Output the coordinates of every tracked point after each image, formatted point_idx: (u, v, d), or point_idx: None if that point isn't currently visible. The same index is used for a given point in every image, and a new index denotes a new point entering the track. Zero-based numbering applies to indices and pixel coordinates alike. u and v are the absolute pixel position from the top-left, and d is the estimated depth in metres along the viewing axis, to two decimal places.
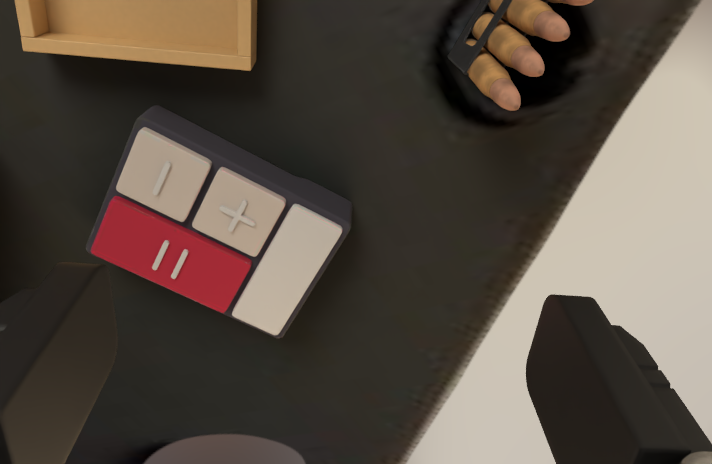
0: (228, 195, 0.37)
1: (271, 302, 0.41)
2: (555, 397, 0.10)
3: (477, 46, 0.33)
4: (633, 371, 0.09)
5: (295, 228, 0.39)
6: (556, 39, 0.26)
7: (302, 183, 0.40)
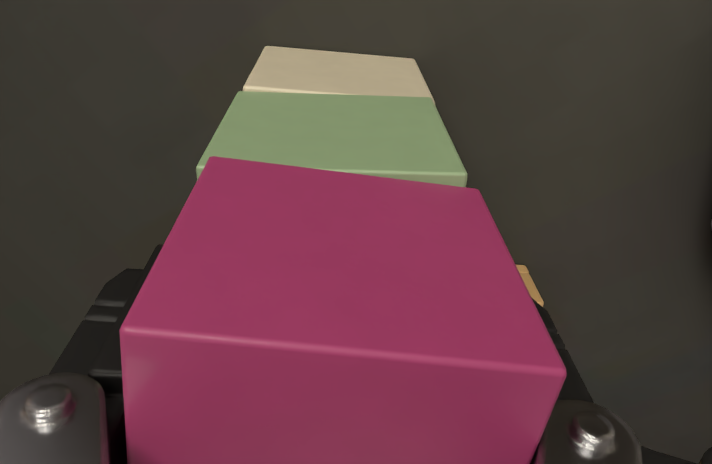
0: None
1: None
2: None
3: None
4: None
5: None
6: None
7: None
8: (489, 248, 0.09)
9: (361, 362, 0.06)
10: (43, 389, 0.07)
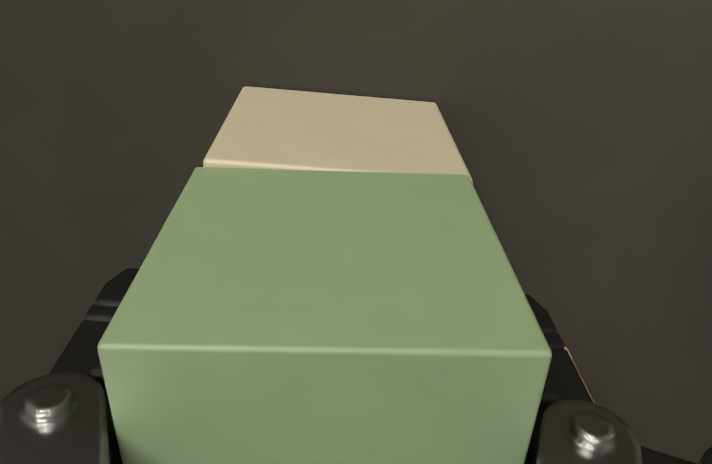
0: None
1: None
2: None
3: None
4: None
5: None
6: None
7: None
8: None
9: None
10: (43, 389, 0.07)
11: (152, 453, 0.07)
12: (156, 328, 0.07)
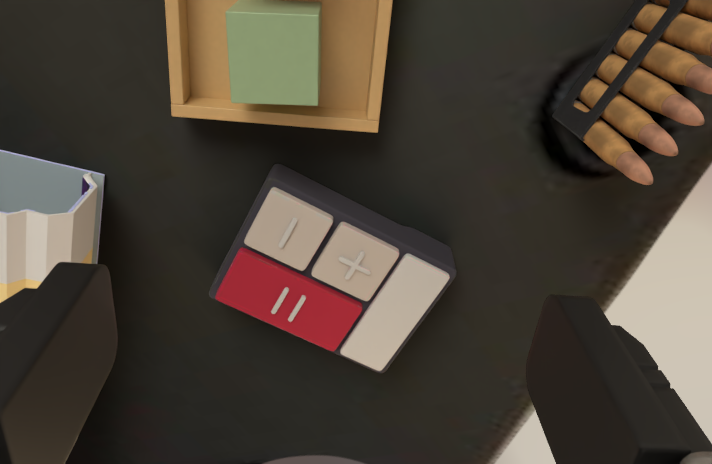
0: (347, 247, 0.41)
1: (378, 341, 0.45)
2: (555, 397, 0.10)
3: (593, 114, 0.36)
4: (633, 371, 0.09)
5: (406, 275, 0.42)
6: (691, 124, 0.29)
7: (408, 232, 0.43)
8: None
9: None
10: None
11: (234, 43, 0.32)
12: (236, 11, 0.32)
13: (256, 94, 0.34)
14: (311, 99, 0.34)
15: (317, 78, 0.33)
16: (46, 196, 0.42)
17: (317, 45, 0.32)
